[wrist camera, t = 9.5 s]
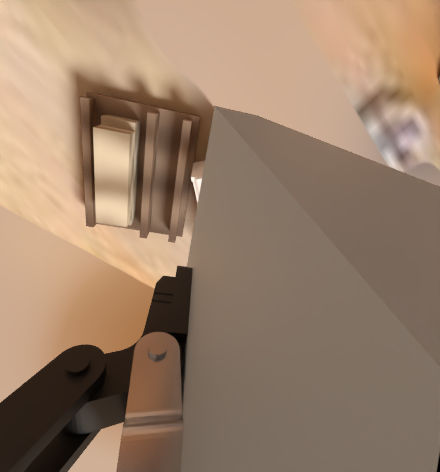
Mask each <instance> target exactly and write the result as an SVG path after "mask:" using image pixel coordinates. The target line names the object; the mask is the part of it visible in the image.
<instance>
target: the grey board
mask: <svg viewBox="0 0 440 472" xmlns="http://www.w3.org/2000/svg"><path fill="white" fill-rule="evenodd" d="M187 267H191V268H193V271H192V285H191V298H190V311H189V325H188V335H187V340H186V345H185V350H184V355H183V360H182V365H181V394H182V416H183V421H184V424H183V442H182V457H181V472H440V187H439V186H436V185H434V184H431V183H429V182H426V181H424V180H421V179H418V178H416V177H413V176H410V175H408V174H406V173H403V172H401V171H398V170H395V169H393V168H390V167H388V166H385V165H382V164H380V163H377V162H375V161H372V160H370V159H367V158H364V157H362V156H359V155H357V154H354V153H352V152H349V151H346V150H344V149H341V148H339V147H336V146H333V145H331V144H328V143H326V142H323V141H321V140H318V139H316V138H313V137H310V136H308V135H305V134H303V133H300V132H297V131H295V130H292V129H290V128H287V127H284V126H282V125H280V124H277V123H274V122H272V121H269V120H267V119H264V118H262V117H259V116H256V115H252V114H247V113H243V112H238V111H234V110H230V109H225V108H220V107H217V106H214V112H213V118H212V123H211V129H210V135H209V141H208V147H207V153H206V158H205V164H204V170H203V176H202V182H201V187H200V193H199V199H198V205H197V211H196V217H195V222H194V228H193V234H192V240H191V246H190V251H189V257H188V263H187Z"/></svg>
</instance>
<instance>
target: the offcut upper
mask: <svg viewBox="0 0 440 472" xmlns="http://www.w3.org/2000/svg"><path fill="white" fill-rule="evenodd" d="M93 143H94V175H95V208H96V223H103V224H109V225H116V226H122V227H127V226H128V224H129V223H130V221H131V218H132V194H133V171H134V147H135V132H133V131H129V130H124V129H119V128H114V127H109V126H104V125H99V126H95V127H93Z"/></svg>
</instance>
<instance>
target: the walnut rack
mask: <svg viewBox="0 0 440 472" xmlns="http://www.w3.org/2000/svg"><path fill="white" fill-rule="evenodd" d="M80 111H81V131H82V151H83V171H84V190H85V210H86V226H89V227H94V226H95V225H96V224H101V225H107V226H114V227H121V228H127V229H134V230H140V238H147V236H148V234H149V232H154V233H161V234H167V235H169V239H168V242H174V243H175V240H176V236H180V237H182V234H183V227H184V221H185V214H186V207H187V201H188V194H189V188H190V181H191V174H192V168H193V161H194V154H195V148H196V141H197V134H198V128H199V121H200V116H196V115H192V114H187V113H182V112H178V111H173V110H169V109H164V108H160V107H155V106H150V105H146V104H141V103H137V102H132V101H128V100H123V99H118V98H114V97H109V96H105V95H100V94H96V93H89V92H87V97H80ZM103 115H112V116H117V117H122V118H126V119H131V120H136V121H140V134H139V154H138V175H137V195H136V215H135V220H134V221H133V223H132V225H128V226H127V227H122V226H116V225H109V224H103V223H96V208H95V175H94V143H93V127H95V126H99V125H101V116H103Z"/></svg>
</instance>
